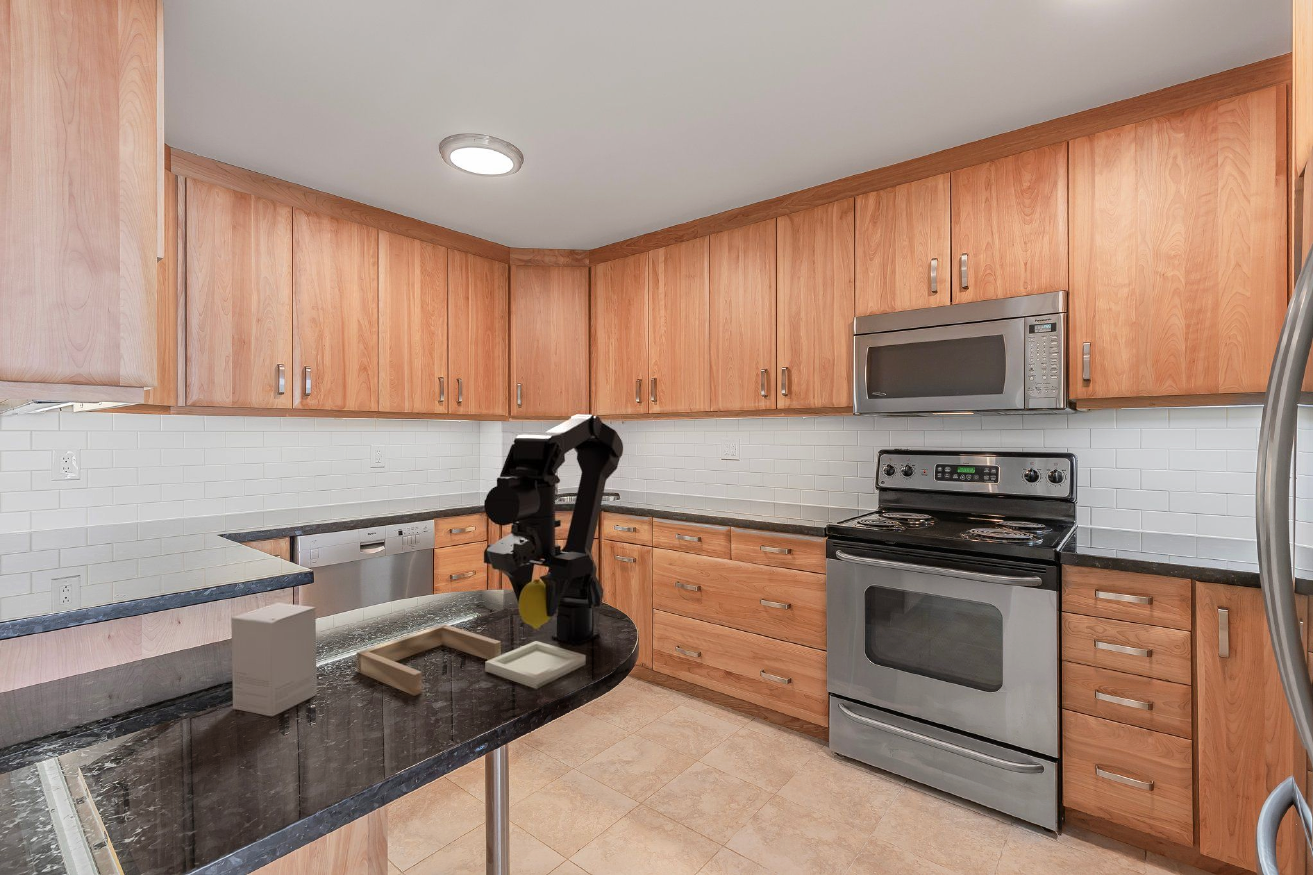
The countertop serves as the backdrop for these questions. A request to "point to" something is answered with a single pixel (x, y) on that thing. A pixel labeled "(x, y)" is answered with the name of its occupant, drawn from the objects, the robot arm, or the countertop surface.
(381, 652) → the u-shaped wooden frame
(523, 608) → the lemon
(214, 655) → the countertop surface
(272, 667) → the supplement box
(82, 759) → the countertop surface
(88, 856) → the countertop surface
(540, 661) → the dish
